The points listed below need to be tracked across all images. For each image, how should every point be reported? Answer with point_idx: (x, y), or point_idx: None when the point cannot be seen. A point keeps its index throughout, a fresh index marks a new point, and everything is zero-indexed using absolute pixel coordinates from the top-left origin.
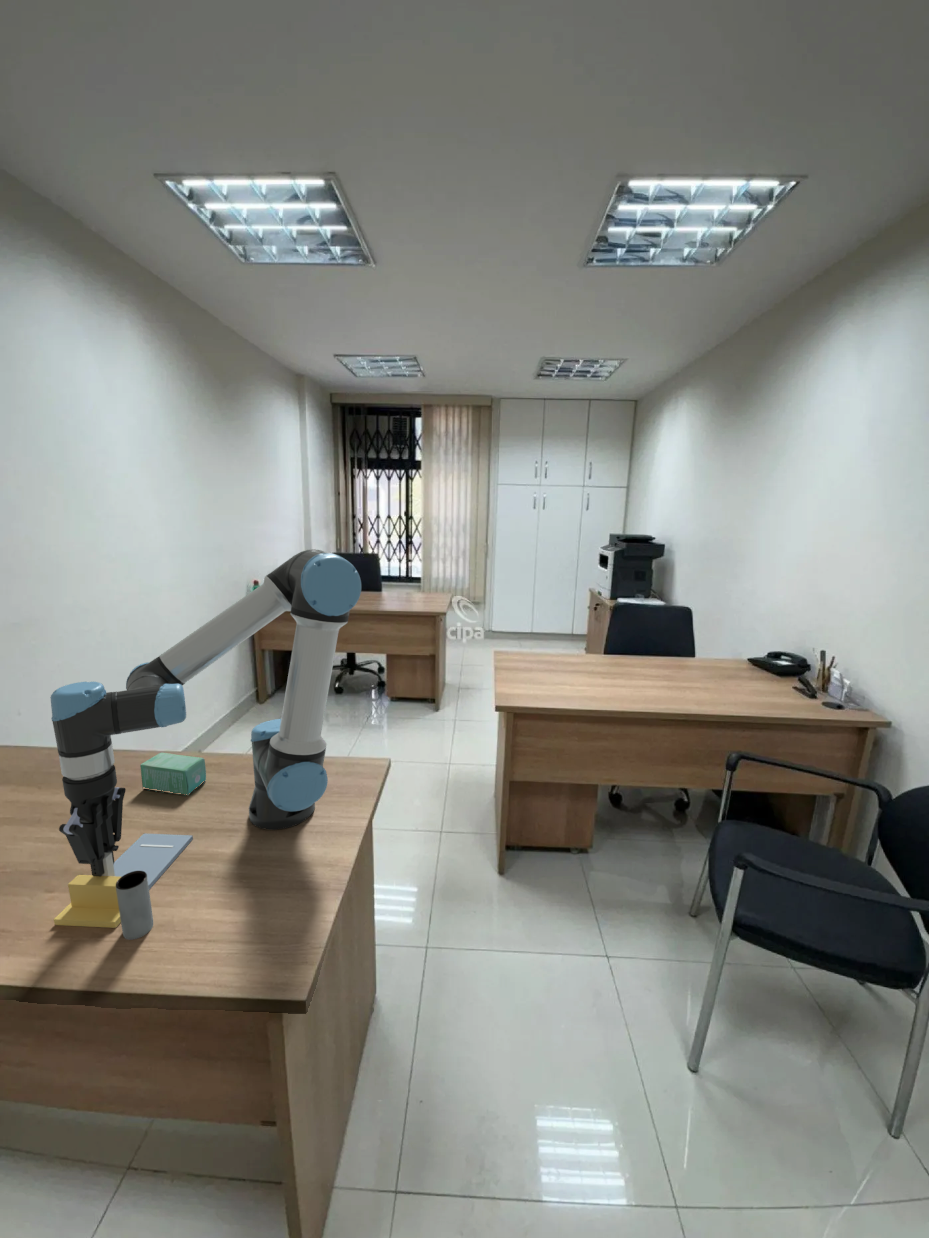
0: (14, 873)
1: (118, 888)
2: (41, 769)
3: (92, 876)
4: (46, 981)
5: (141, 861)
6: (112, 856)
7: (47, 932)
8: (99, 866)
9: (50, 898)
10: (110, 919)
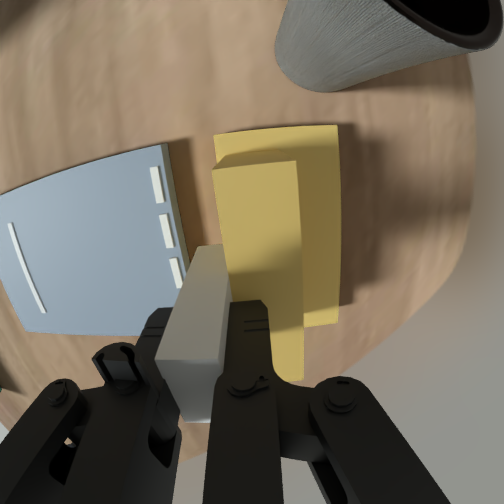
0: None
1: (502, 16)
2: None
3: None
4: (469, 191)
5: (73, 266)
6: (146, 339)
7: (349, 308)
8: (261, 343)
9: None
10: (329, 149)
